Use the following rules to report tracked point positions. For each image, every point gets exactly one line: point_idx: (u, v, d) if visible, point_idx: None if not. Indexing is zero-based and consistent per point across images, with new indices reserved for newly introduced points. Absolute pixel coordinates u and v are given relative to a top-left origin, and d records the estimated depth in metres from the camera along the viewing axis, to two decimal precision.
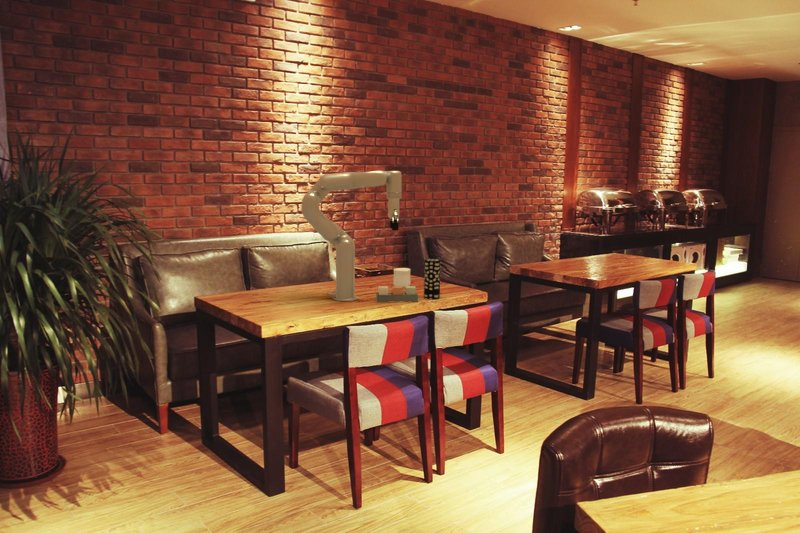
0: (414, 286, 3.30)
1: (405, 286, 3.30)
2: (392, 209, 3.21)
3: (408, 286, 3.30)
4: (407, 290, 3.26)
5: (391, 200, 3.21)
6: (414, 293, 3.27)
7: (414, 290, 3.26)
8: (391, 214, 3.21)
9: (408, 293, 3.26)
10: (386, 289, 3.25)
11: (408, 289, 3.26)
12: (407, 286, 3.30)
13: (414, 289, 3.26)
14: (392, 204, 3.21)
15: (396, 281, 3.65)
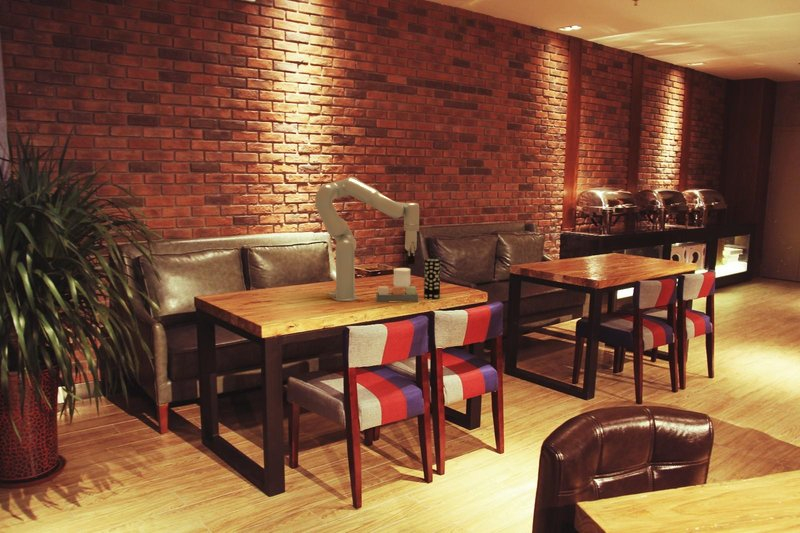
0: (414, 286, 3.30)
1: (405, 286, 3.30)
2: (409, 241, 3.20)
3: (408, 286, 3.30)
4: (407, 290, 3.26)
5: (409, 232, 3.19)
6: (414, 293, 3.27)
7: (414, 290, 3.26)
8: (408, 246, 3.20)
9: (408, 293, 3.26)
10: (386, 289, 3.25)
11: (408, 289, 3.26)
12: (407, 286, 3.30)
13: (414, 289, 3.26)
14: (410, 236, 3.19)
15: (396, 281, 3.65)
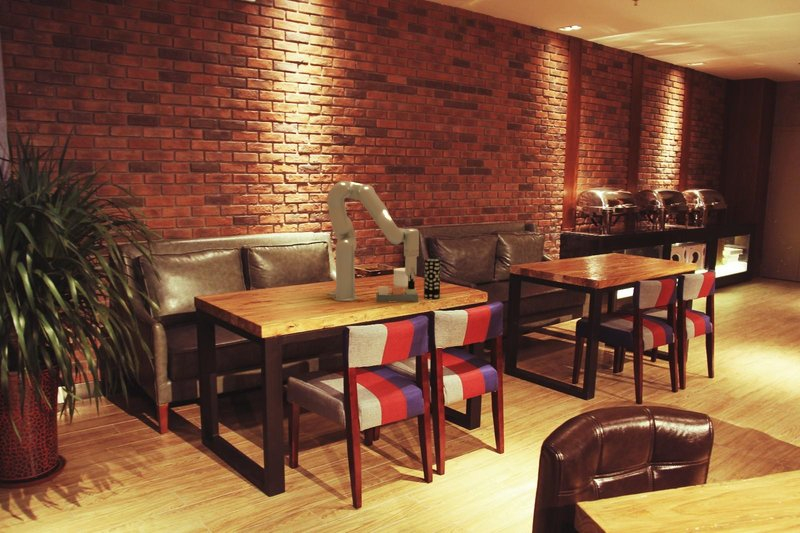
0: None
1: (405, 288, 3.30)
2: (409, 267, 3.22)
3: None
4: (407, 292, 3.26)
5: (408, 258, 3.22)
6: None
7: (414, 292, 3.27)
8: (408, 272, 3.22)
9: None
10: (386, 289, 3.25)
11: (408, 291, 3.26)
12: (407, 288, 3.30)
13: (414, 291, 3.26)
14: (409, 262, 3.21)
15: (396, 281, 3.65)
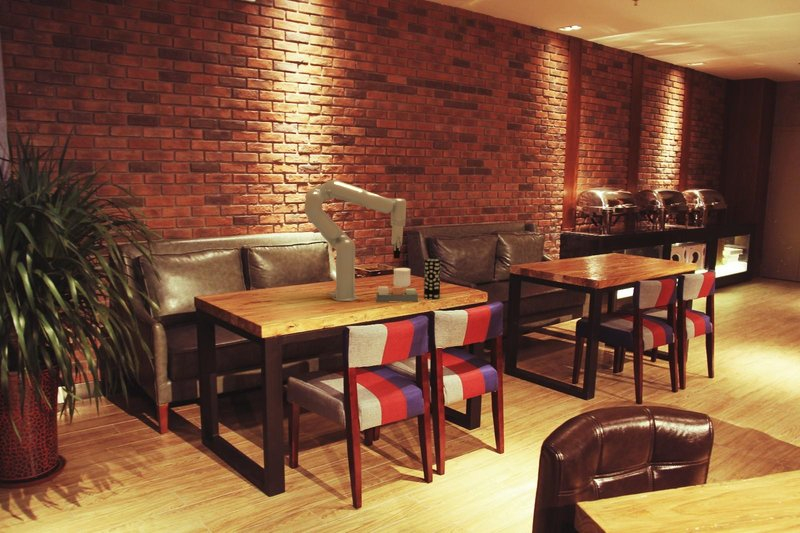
0: (414, 288, 3.30)
1: None
2: (395, 236, 3.26)
3: (408, 288, 3.30)
4: (407, 292, 3.26)
5: (395, 227, 3.26)
6: None
7: (414, 292, 3.27)
8: (394, 241, 3.26)
9: None
10: (386, 289, 3.25)
11: (408, 291, 3.26)
12: (407, 288, 3.30)
13: (414, 291, 3.27)
14: (395, 231, 3.26)
15: (396, 281, 3.65)
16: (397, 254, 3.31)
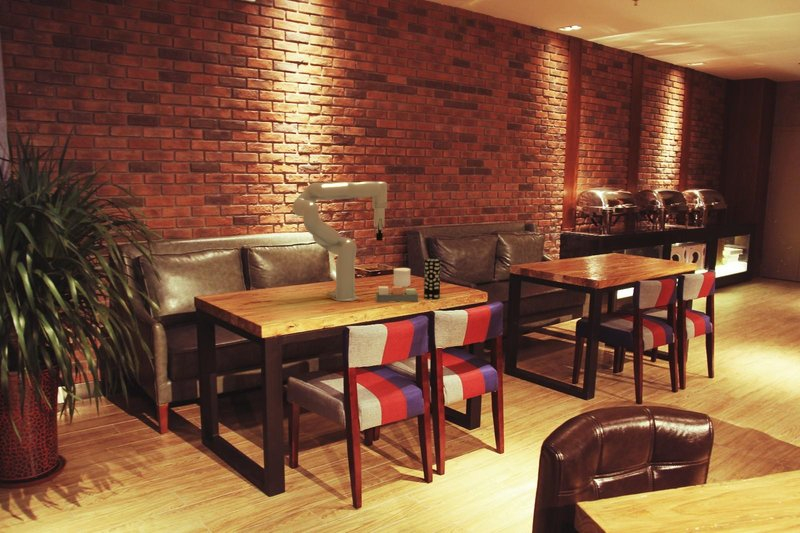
0: (414, 288, 3.30)
1: None
2: (377, 219, 3.31)
3: (408, 288, 3.30)
4: (407, 292, 3.26)
5: (376, 210, 3.31)
6: None
7: (414, 292, 3.27)
8: (376, 223, 3.31)
9: None
10: (386, 289, 3.25)
11: (408, 291, 3.26)
12: (407, 288, 3.30)
13: (414, 291, 3.27)
14: (377, 214, 3.31)
15: (396, 281, 3.65)
16: (380, 236, 3.36)
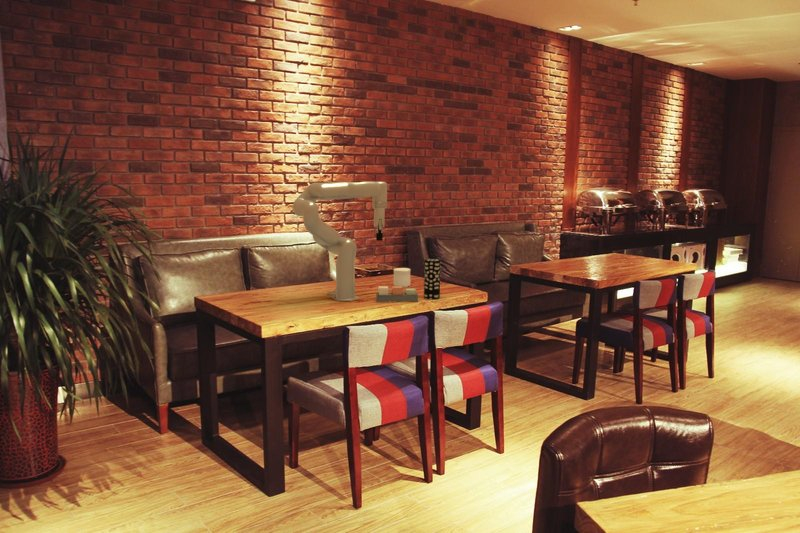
0: (414, 288, 3.30)
1: None
2: (377, 219, 3.31)
3: (408, 288, 3.30)
4: (407, 292, 3.26)
5: (376, 210, 3.31)
6: None
7: (414, 292, 3.27)
8: (376, 223, 3.31)
9: None
10: (386, 289, 3.25)
11: (408, 291, 3.26)
12: (407, 288, 3.30)
13: (414, 291, 3.27)
14: (377, 214, 3.31)
15: (396, 281, 3.65)
16: (380, 236, 3.36)
